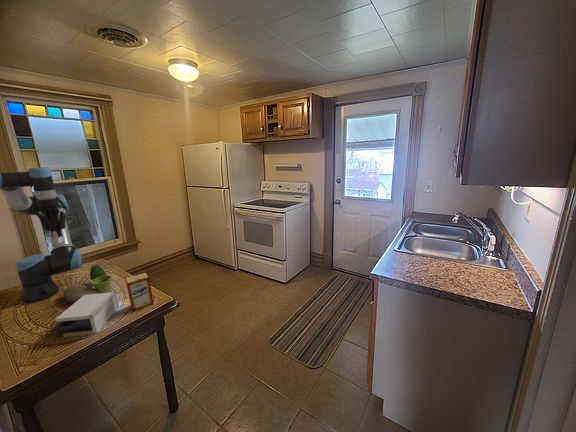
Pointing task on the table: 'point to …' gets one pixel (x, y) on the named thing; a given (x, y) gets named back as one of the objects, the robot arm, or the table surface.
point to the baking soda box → (139, 291)
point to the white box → (91, 311)
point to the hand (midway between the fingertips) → (59, 242)
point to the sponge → (78, 292)
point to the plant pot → (102, 284)
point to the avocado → (96, 272)
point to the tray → (73, 326)
